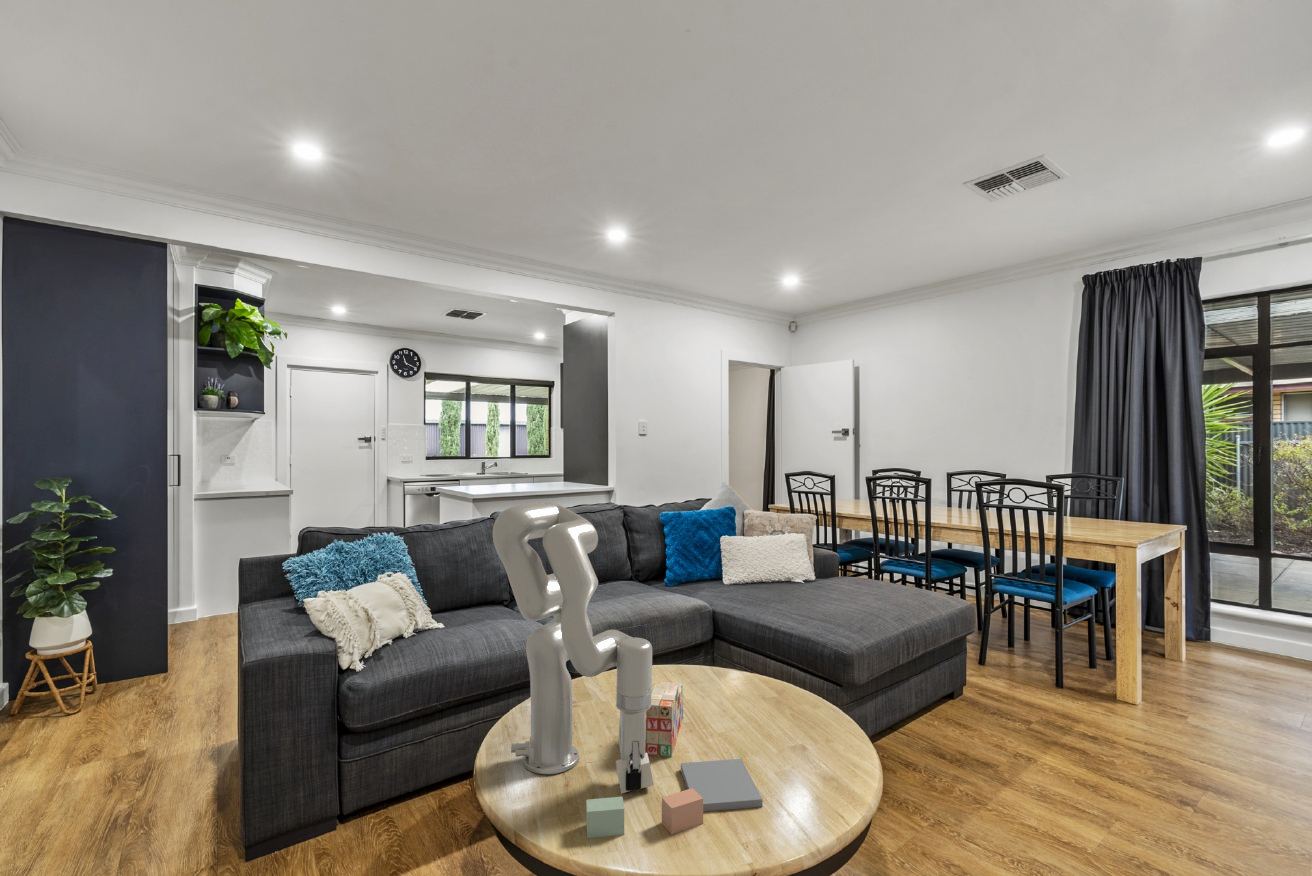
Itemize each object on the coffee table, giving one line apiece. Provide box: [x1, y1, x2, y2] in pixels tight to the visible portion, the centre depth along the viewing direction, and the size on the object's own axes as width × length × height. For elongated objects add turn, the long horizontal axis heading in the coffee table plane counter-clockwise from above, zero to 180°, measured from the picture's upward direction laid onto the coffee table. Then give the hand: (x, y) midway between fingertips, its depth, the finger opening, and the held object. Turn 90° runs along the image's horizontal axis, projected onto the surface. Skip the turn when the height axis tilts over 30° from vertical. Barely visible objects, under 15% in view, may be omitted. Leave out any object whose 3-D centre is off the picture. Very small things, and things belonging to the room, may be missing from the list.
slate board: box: [680, 758, 763, 813], centre depth 133 cm, size 14×16×2 cm
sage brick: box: [585, 796, 625, 839], centre depth 118 cm, size 7×4×5 cm, turn 98°
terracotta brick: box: [661, 788, 704, 835], centre depth 120 cm, size 7×4×5 cm, turn 118°
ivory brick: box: [615, 752, 654, 794], centre depth 133 cm, size 7×4×5 cm, turn 98°
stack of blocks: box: [645, 681, 684, 758], centre depth 156 cm, size 21×6×12 cm, turn 170°
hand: (632, 782), depth 133 cm, fingers closed on ivory brick, 3 cm apart
